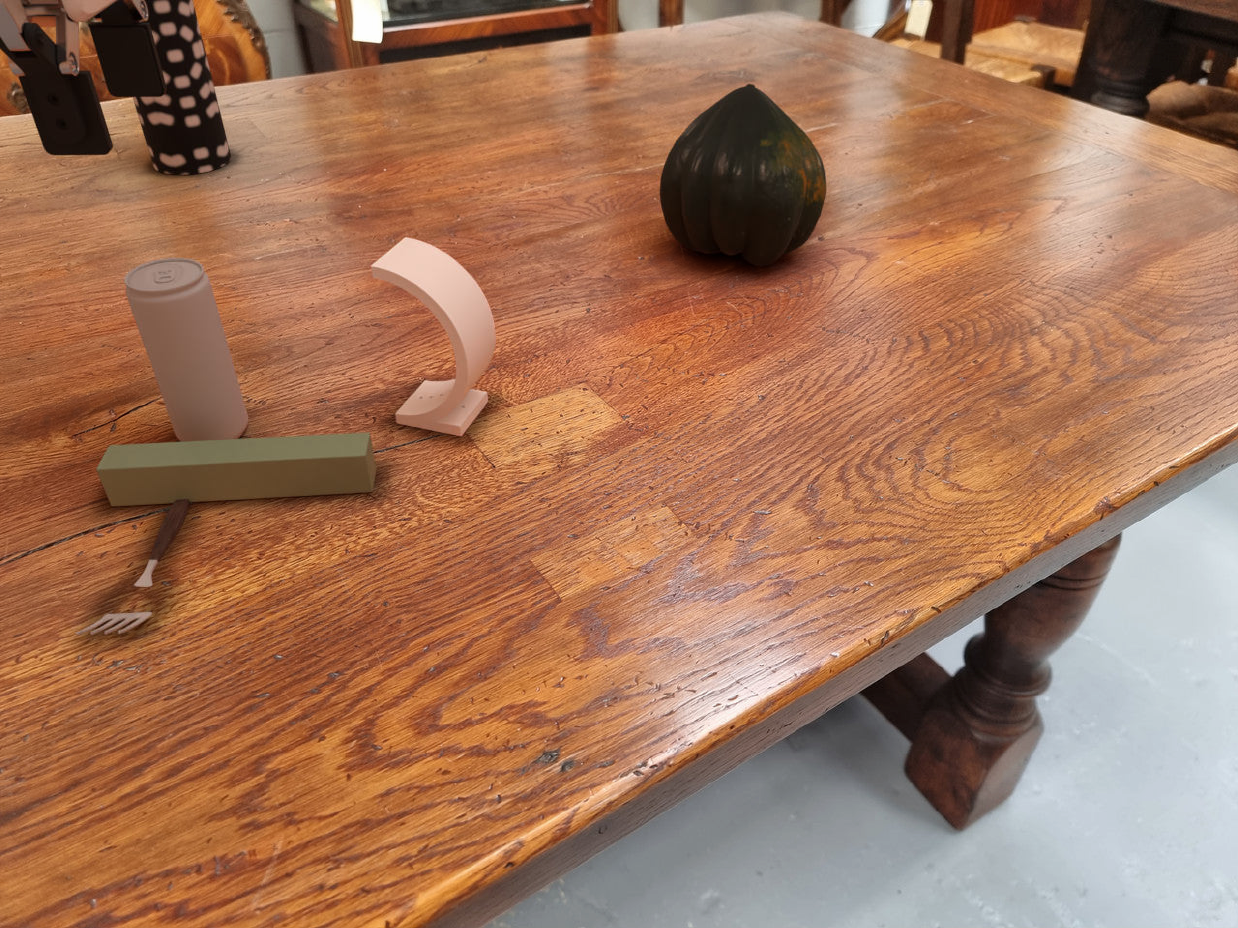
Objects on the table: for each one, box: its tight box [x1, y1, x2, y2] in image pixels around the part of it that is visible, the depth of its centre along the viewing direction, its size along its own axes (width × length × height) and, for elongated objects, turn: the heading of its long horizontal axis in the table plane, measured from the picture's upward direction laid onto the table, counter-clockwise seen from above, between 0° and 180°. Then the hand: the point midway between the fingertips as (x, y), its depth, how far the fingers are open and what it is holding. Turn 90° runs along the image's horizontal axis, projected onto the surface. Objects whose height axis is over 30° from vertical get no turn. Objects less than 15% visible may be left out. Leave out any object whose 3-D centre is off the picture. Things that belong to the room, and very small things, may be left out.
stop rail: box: [95, 432, 378, 507], centre depth 58 cm, size 16×2×3 cm, turn 96°
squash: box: [659, 83, 827, 267], centre depth 85 cm, size 14×15×15 cm
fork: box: [75, 499, 192, 637], centre depth 54 cm, size 3×16×2 cm, turn 2°
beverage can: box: [123, 257, 250, 442], centre depth 60 cm, size 5×5×12 cm
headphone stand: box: [370, 236, 497, 437], centre depth 62 cm, size 5×6×12 cm
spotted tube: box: [132, 0, 232, 176], centre depth 99 cm, size 8×8×20 cm
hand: (112, 122), depth 51 cm, fingers open, 9 cm apart
